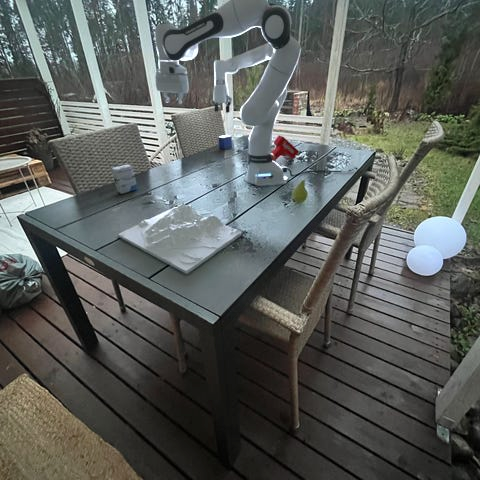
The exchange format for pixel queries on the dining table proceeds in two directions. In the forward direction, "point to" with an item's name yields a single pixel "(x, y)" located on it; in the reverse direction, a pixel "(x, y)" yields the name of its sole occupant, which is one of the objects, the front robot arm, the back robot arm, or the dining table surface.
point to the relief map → (181, 237)
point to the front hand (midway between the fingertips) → (173, 103)
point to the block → (225, 141)
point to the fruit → (300, 192)
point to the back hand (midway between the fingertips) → (222, 111)
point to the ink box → (124, 178)
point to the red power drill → (284, 148)
